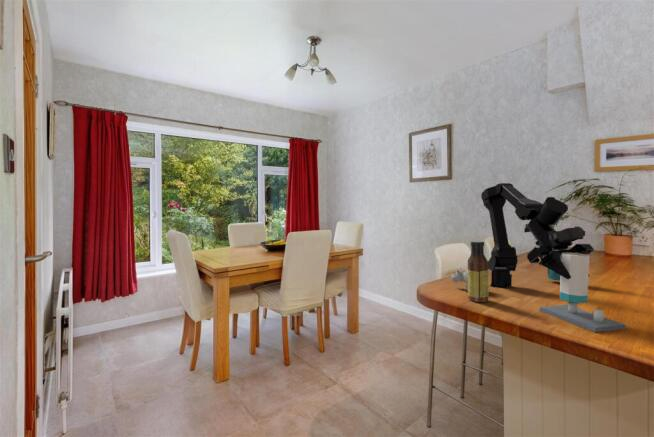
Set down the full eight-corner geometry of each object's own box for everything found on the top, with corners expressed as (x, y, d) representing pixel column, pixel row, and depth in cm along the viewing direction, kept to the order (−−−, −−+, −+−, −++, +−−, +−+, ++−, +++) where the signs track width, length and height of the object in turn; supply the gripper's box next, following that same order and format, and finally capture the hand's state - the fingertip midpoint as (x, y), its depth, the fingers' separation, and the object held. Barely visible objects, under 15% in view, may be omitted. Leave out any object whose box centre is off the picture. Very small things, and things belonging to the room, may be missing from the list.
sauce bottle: (486, 298, 107) (488, 240, 106) (489, 304, 101) (491, 242, 100) (465, 296, 109) (467, 239, 108) (467, 302, 104) (469, 241, 102)
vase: (560, 300, 89) (562, 254, 88) (559, 295, 94) (561, 251, 93) (588, 304, 86) (590, 256, 85) (584, 298, 91) (587, 253, 90)
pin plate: (539, 310, 95) (540, 297, 95) (566, 308, 97) (567, 295, 97) (594, 332, 79) (595, 316, 79) (625, 329, 82) (626, 313, 81)
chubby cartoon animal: (454, 284, 125) (455, 263, 124) (487, 290, 117) (488, 267, 116) (447, 288, 120) (448, 266, 119) (481, 294, 112) (482, 271, 111)
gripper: (536, 217, 91) (572, 263, 80) (588, 216, 95) (629, 260, 84) (514, 241, 99) (543, 285, 89) (563, 239, 103) (596, 281, 93)
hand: (578, 277), depth 88 cm, fingers closed on vase, 6 cm apart
